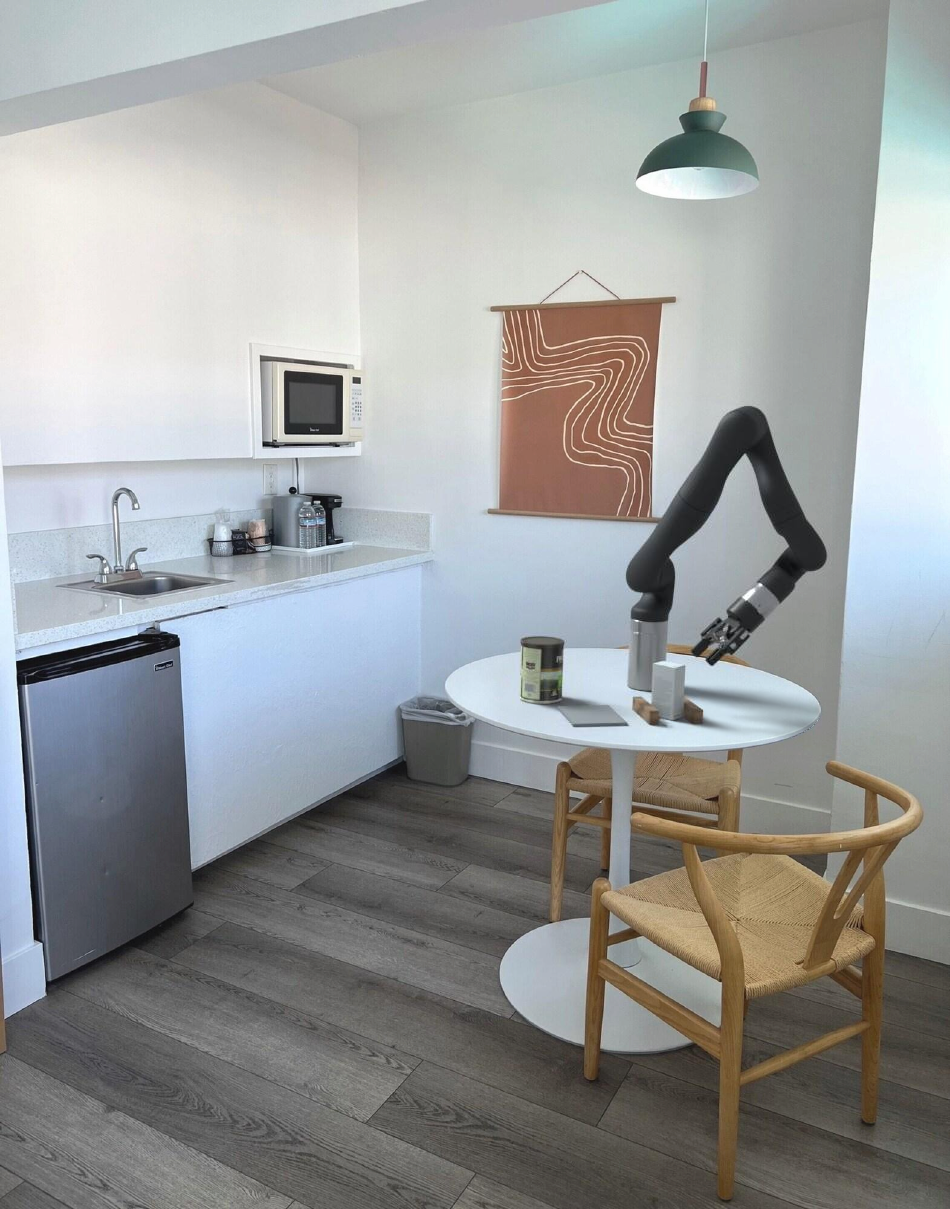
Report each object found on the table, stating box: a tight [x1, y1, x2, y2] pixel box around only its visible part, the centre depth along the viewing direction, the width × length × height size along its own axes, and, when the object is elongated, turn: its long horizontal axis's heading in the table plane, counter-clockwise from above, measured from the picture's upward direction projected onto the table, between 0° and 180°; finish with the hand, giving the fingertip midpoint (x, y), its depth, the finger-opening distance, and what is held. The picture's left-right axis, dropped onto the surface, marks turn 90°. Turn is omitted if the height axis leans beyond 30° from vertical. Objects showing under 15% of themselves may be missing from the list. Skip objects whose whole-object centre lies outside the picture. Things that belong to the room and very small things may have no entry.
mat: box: [557, 704, 628, 728], centre depth 209 cm, size 14×12×1 cm
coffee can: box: [518, 635, 565, 705], centre depth 222 cm, size 10×10×14 cm
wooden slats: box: [631, 696, 704, 726], centre depth 210 cm, size 12×12×3 cm
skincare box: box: [650, 660, 686, 721], centre depth 210 cm, size 6×4×12 cm
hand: (700, 658), depth 209 cm, fingers open, 8 cm apart
